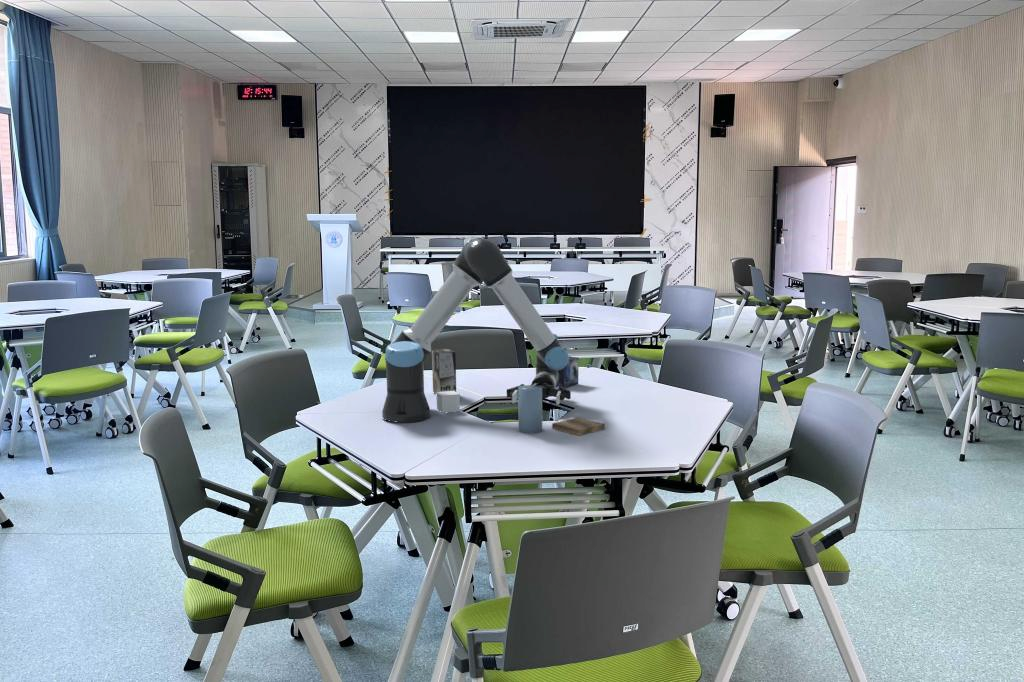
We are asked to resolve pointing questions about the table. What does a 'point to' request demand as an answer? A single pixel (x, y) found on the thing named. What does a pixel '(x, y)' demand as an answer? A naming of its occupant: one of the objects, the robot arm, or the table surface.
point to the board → (578, 426)
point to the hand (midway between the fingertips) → (535, 399)
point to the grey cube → (448, 401)
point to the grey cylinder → (530, 409)
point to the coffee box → (444, 370)
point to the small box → (569, 373)
